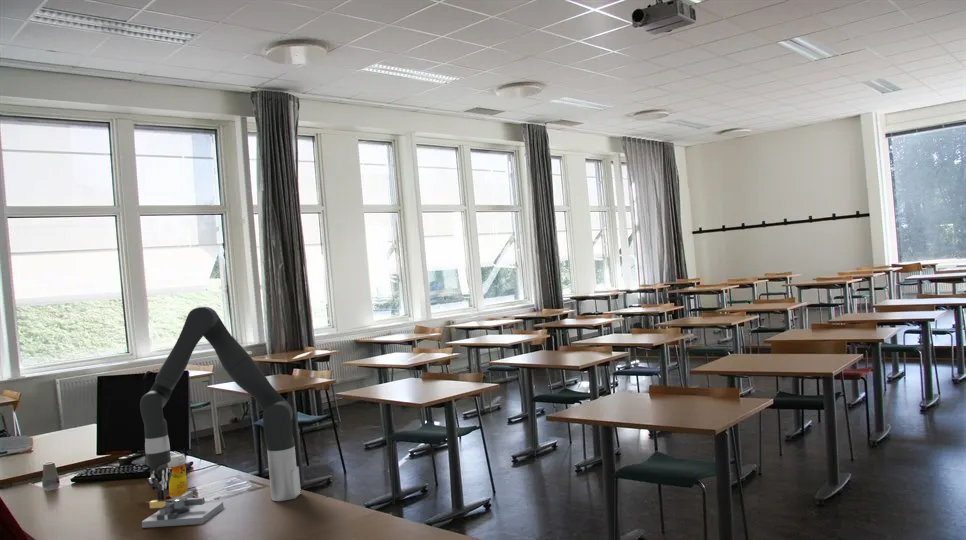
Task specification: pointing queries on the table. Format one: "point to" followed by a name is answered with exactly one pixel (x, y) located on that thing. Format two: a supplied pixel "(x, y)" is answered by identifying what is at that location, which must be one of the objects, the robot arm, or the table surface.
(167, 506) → the valve handle
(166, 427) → the robot arm
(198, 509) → the stand
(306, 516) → the table surface
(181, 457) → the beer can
